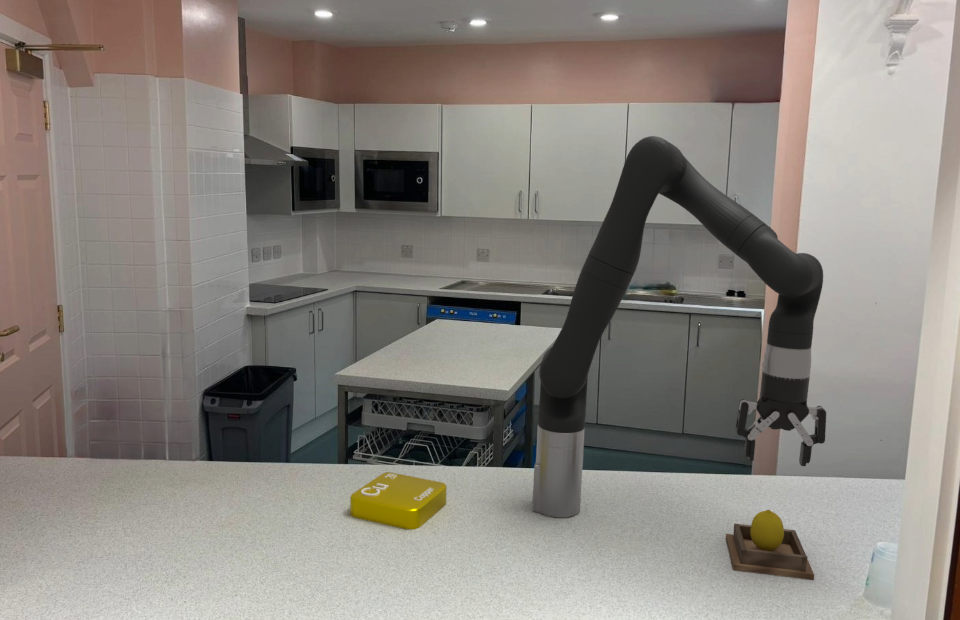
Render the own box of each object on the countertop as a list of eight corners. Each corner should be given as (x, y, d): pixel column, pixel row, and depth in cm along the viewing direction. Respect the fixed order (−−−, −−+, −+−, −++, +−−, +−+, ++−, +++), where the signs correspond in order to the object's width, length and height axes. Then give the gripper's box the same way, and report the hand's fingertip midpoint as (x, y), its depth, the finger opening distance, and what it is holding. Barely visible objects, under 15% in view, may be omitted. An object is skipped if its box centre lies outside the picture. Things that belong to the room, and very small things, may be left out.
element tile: (415, 533, 143) (415, 509, 142) (346, 517, 149) (346, 494, 148) (449, 503, 157) (450, 480, 156) (385, 489, 162) (385, 468, 161)
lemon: (784, 561, 133) (788, 518, 132) (751, 558, 134) (754, 515, 133) (779, 546, 139) (782, 505, 137) (746, 543, 140) (750, 502, 138)
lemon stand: (733, 570, 132) (734, 551, 131) (725, 538, 144) (727, 521, 143) (813, 580, 130) (815, 560, 129) (799, 547, 141) (801, 529, 141)
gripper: (745, 372, 129) (736, 465, 131) (836, 380, 126) (825, 474, 129) (739, 362, 136) (731, 450, 139) (825, 369, 133) (815, 458, 136)
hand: (776, 461), depth 134 cm, fingers open, 8 cm apart
